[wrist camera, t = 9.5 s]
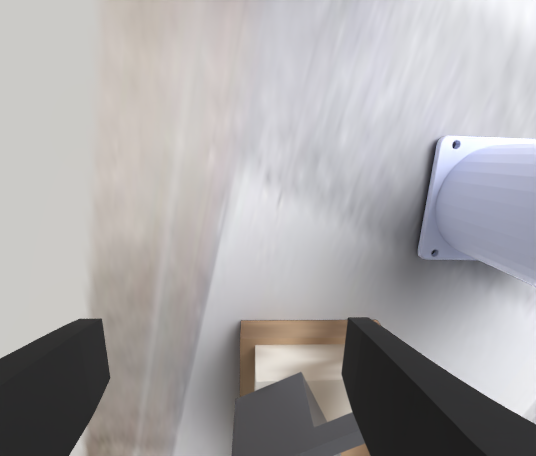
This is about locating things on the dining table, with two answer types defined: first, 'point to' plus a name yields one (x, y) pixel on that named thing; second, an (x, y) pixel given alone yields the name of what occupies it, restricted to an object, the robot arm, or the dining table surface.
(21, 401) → the robot arm
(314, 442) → the grey notched block
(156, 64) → the dining table surface
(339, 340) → the display stand
